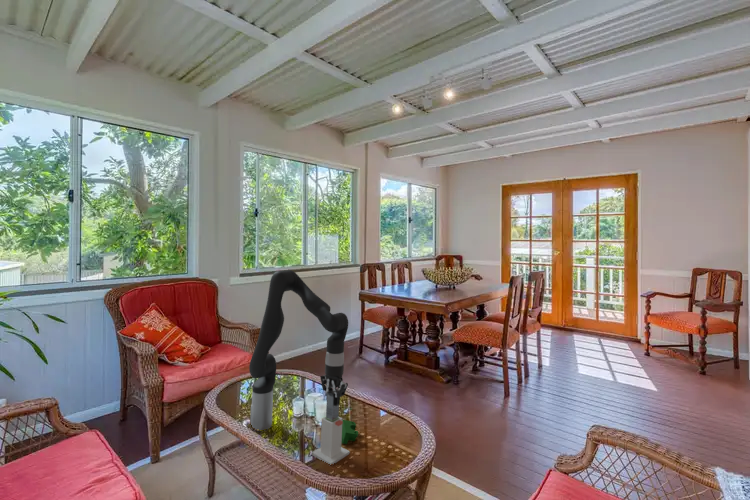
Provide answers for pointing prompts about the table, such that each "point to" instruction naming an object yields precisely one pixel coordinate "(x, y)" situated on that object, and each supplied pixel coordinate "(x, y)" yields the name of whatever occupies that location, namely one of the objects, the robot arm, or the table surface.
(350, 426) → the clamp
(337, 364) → the robot arm
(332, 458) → the stand housing
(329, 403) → the column
